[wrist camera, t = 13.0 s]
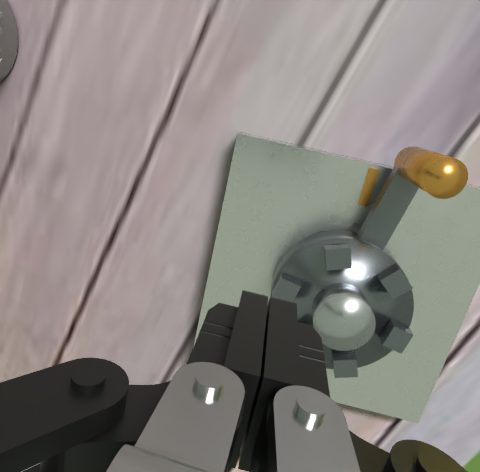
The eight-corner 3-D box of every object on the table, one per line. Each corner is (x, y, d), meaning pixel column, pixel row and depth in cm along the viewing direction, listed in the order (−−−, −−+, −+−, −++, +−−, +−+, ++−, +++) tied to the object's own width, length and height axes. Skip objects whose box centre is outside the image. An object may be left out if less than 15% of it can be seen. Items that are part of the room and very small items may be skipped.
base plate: (194, 353, 41) (189, 365, 39) (240, 131, 34) (237, 133, 32) (411, 408, 40) (418, 423, 38) (504, 192, 33) (517, 197, 31)
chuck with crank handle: (348, 117, 31) (368, 120, 23) (481, 175, 31) (544, 197, 23) (251, 318, 37) (242, 372, 29) (363, 366, 37) (383, 433, 29)
